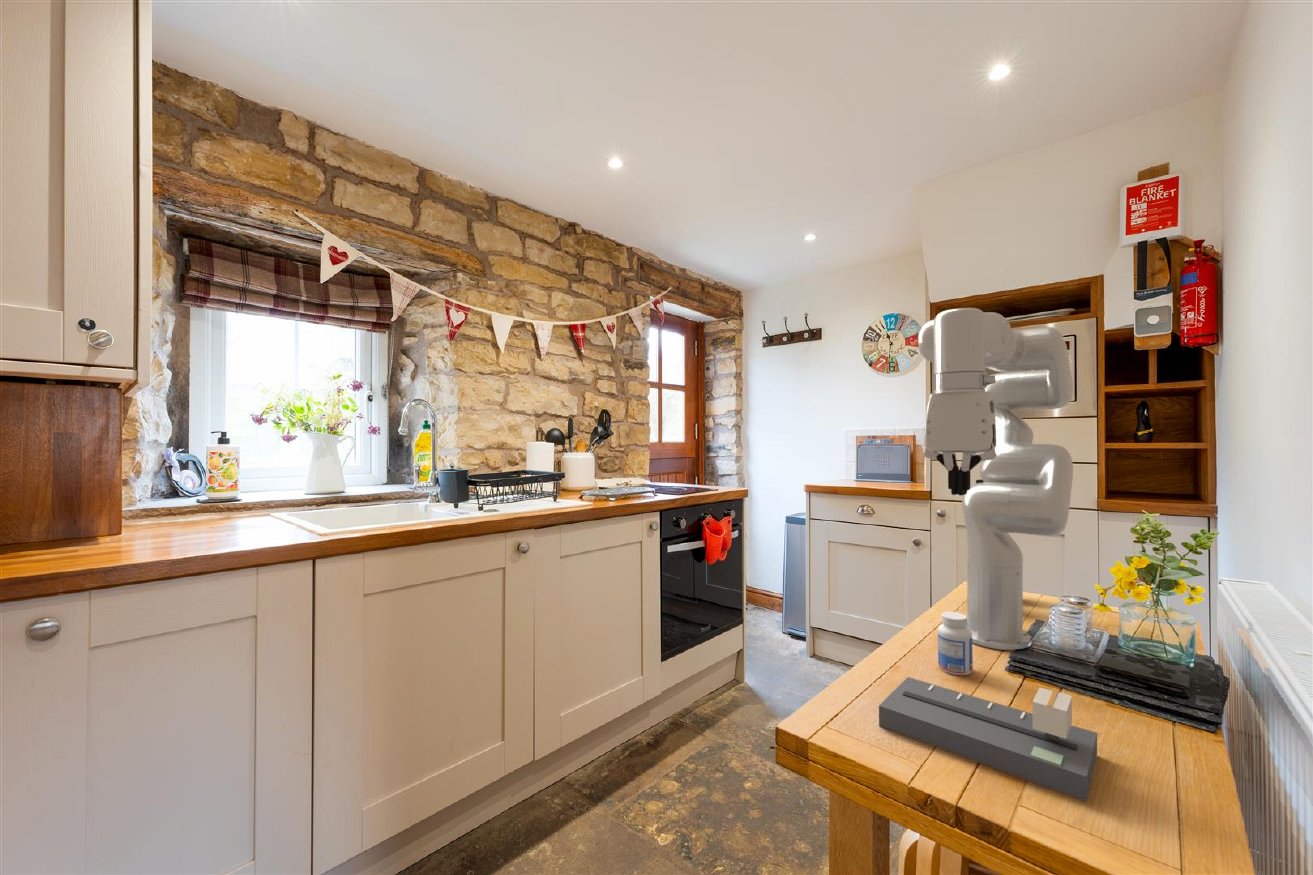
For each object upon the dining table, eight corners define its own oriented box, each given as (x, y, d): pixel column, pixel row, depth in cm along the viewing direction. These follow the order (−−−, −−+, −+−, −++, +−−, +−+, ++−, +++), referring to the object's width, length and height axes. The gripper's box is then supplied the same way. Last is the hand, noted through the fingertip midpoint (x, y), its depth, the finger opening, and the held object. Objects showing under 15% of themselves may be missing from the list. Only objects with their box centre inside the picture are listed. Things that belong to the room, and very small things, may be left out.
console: (907, 695, 89) (907, 675, 89) (1097, 755, 72) (1097, 731, 72) (878, 725, 80) (878, 704, 80) (1086, 801, 64) (1086, 774, 64)
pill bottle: (954, 660, 101) (954, 608, 101) (979, 673, 96) (979, 618, 96) (930, 665, 99) (930, 612, 99) (955, 678, 94) (955, 622, 94)
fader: (1039, 723, 74) (1039, 686, 74) (1071, 733, 71) (1072, 695, 71) (1032, 739, 70) (1032, 700, 70) (1066, 750, 68) (1066, 710, 68)
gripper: (1016, 382, 89) (1016, 495, 89) (919, 387, 99) (919, 488, 100) (1006, 380, 83) (1006, 500, 84) (904, 386, 94) (904, 493, 94)
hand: (959, 493), depth 92 cm, fingers closed
